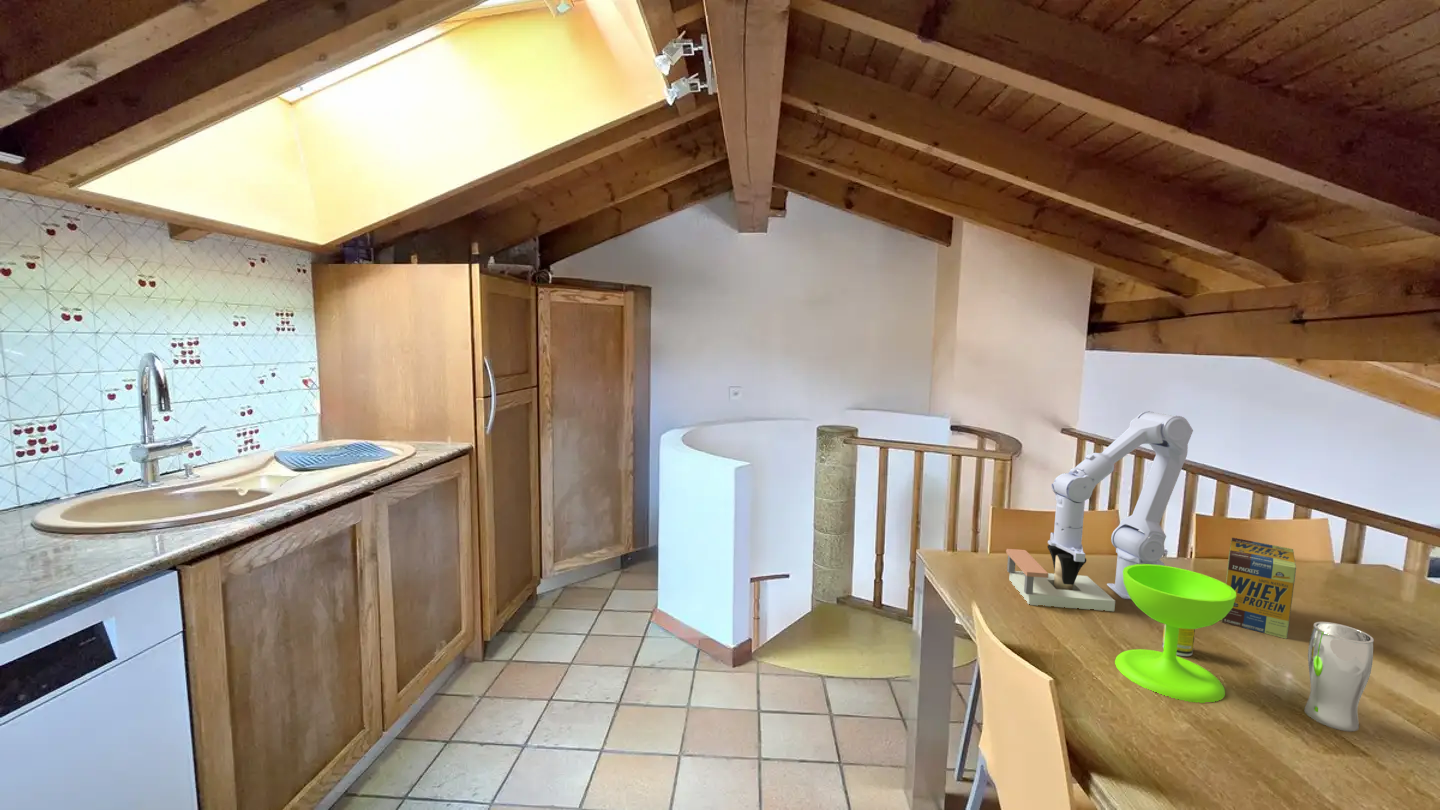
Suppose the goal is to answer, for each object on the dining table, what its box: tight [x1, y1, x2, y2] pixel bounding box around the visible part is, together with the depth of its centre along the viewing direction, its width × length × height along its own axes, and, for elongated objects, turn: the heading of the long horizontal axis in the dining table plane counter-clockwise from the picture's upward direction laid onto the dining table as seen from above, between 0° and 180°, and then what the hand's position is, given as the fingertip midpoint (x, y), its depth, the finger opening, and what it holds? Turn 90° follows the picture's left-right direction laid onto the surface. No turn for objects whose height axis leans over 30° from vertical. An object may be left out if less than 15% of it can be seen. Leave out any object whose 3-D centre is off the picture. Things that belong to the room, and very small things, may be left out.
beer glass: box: [1304, 621, 1374, 732], centre depth 93 cm, size 7×7×15 cm
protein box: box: [1221, 537, 1297, 639], centre depth 127 cm, size 10×15×16 cm
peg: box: [1053, 555, 1073, 590], centre depth 138 cm, size 4×4×8 cm
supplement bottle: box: [1161, 624, 1196, 657], centre depth 114 cm, size 5×5×8 cm
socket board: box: [1008, 570, 1116, 612], centre depth 139 cm, size 18×14×2 cm
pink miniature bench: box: [1005, 548, 1049, 595], centre depth 140 cm, size 4×15×6 cm, turn 170°
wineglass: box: [1114, 564, 1236, 704], centre depth 105 cm, size 16×16×18 cm
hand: (1064, 579), depth 138 cm, fingers closed on peg, 4 cm apart
